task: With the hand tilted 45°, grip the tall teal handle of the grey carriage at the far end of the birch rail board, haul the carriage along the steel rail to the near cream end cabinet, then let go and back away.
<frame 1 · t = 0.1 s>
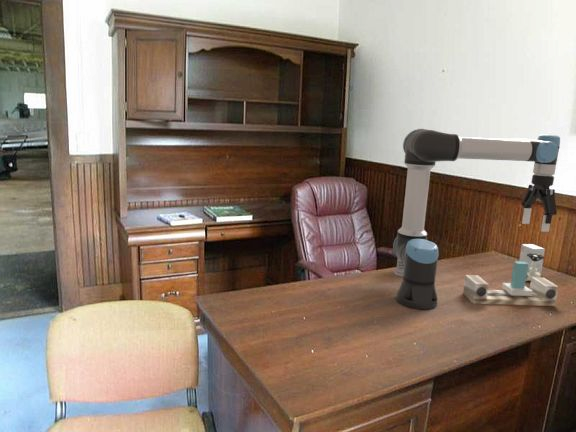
hand: (534, 227, 182), 28 cm above the table, tool pointing down, fingers open, 13 cm apart
carriage: (518, 278, 178), point 9 cm above the table, slide at 3.0 cm
small box: (529, 273, 214), on the table
valve: (531, 281, 203), on the table
rail board: (507, 299, 180), on the table
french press: (406, 274, 206), on the table
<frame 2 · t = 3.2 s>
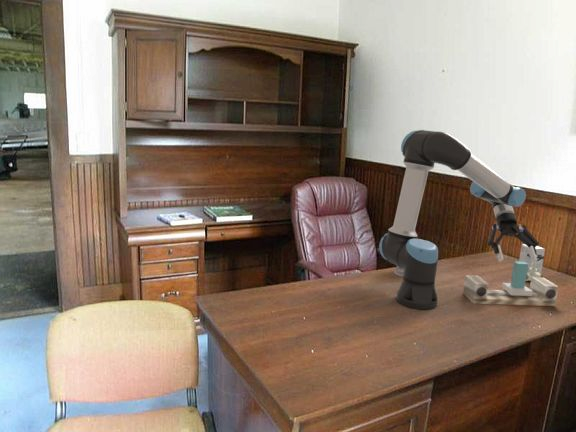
hand: (518, 261, 181), 15 cm above the table, tool tilted 45°, fingers open, 13 cm apart
nothing on the table moved.
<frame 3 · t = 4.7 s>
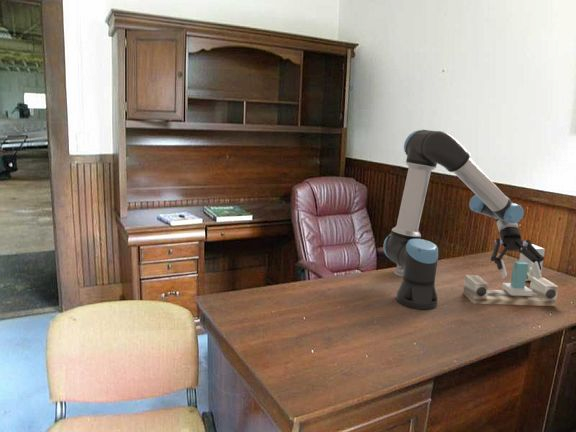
hand: (522, 277, 176), 10 cm above the table, tool tilted 45°, fingers open, 13 cm apart
nothing on the table moved.
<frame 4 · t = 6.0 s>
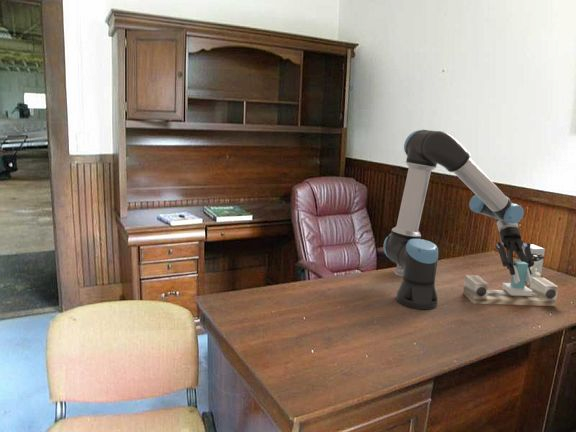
hand: (523, 282, 175), 9 cm above the table, tool tilted 45°, fingers closed on carriage, 4 cm apart
carriage: (518, 278, 178), point 9 cm above the table, slide at 3.0 cm, touching gripper
everything else where it was.
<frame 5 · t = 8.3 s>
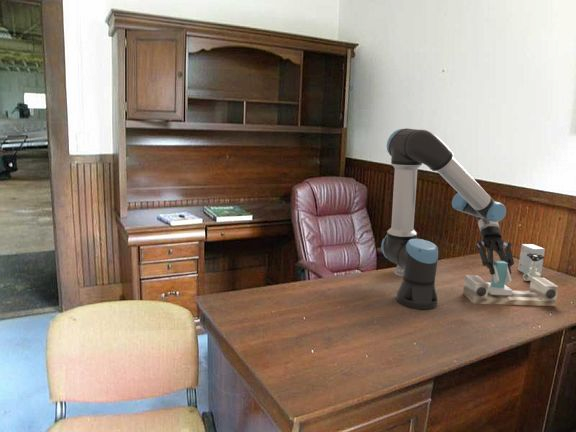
hand: (503, 281, 174), 9 cm above the table, tool tilted 45°, fingers closed on carriage, 4 cm apart
carriage: (498, 277, 178), point 9 cm above the table, slide at -5.0 cm, touching gripper
everything else where it was.
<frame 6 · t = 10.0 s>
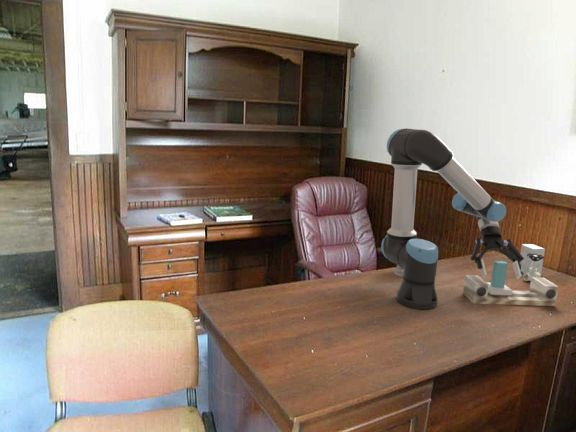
hand: (501, 276, 175), 10 cm above the table, tool tilted 45°, fingers open, 13 cm apart
carriage: (498, 277, 178), point 9 cm above the table, slide at -5.0 cm
everything else where it was.
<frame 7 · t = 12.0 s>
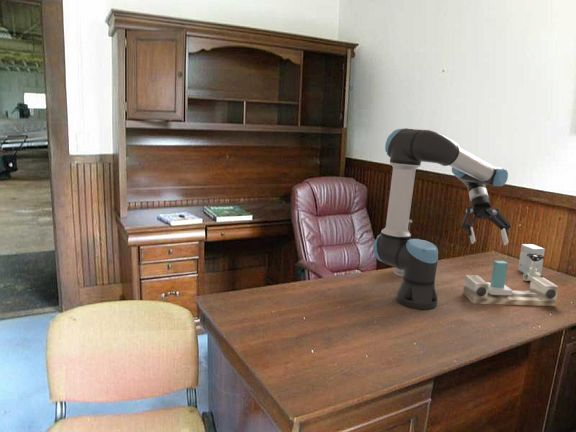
hand: (489, 242, 186), 20 cm above the table, tool tilted 45°, fingers open, 13 cm apart
nothing on the table moved.
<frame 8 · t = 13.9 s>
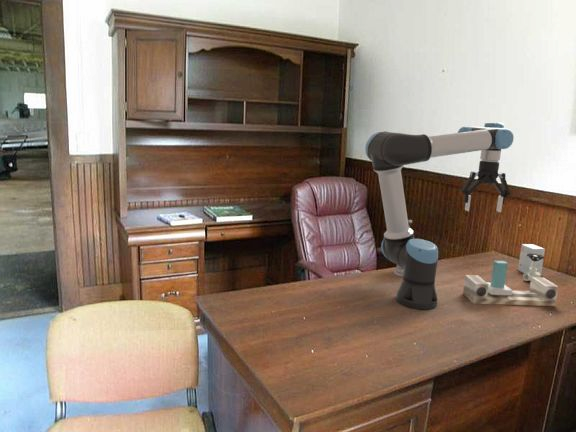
hand: (482, 211, 192), 32 cm above the table, tool pointing down, fingers open, 13 cm apart
nothing on the table moved.
at the end: carriage slide at -5.0 cm; the gripper is holding nothing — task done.
